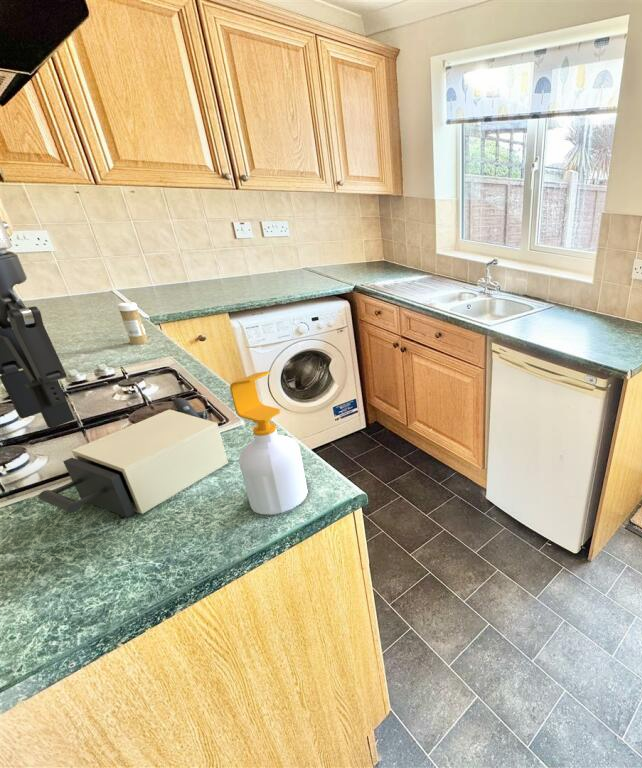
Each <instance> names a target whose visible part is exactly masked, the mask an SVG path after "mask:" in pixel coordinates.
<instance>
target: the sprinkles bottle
mask: <svg viewBox="0 0 642 768" xmlns="http://www.w3.org/2000/svg"><path fill="white" fill-rule="evenodd" d="M116 305H117V309H118V311H119V313H120V316H121V319H122V323H123V325H124V328H125V331H126V333H127V336H128V339H129V342H130V345H131V346H140V345H147V344H149V340H148V337H147V334H146V329H145V327H144V325H143V322H142V320H141V316H140V313H139V309H138V305H137V303H136V302H132V301H128V302H120V303H118V304H116Z"/></svg>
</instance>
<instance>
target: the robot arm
mask: <svg viewBox="0 0 642 768" xmlns="http://www.w3.org/2000/svg"><path fill="white" fill-rule="evenodd" d="M9 227H10V226H9V223H8V222H6V221H4V220H2V218H1V216H0V382H1V384H2V385H3V387H4V389H5V391H6V393H7V395H8V398H9V400H10V401H11V403H12V406H13V407H14V409H15V411H16V413H17V415H18V417H19V418H20V419H27V418H29V417H32V416H35V415H38V414H41V416H42V418H43V420H44V422H45V425H46V427H47V428H49V429H53V428H56V427H59V426H61V425H64V424H67V423H70V422H73V421H75V420H76V418H75V416H74V413H73V411H72V409H71V406H70V405H69V402H68V400H67V398H66V396H65V393H64V391H63V388H62V387H61V384H60V382H59V380H61V379H62V380H63V379H65V378H66V379H67V376H68V375H67V373H66V370H65V369H64V366H63V363H62V362H61V360H60V357H59V356H58V353H57V350H56V349H55V347H54V345H53V342H52V340H51V338H50V335H49V334H48V332H47V330H46V328H45V325H44V321H43V317H42V313H41V310H40V309H39V307H37V306H28V307H27V306H26V305H25V303H24V302H23V300H22V299H21V298H20V297H19V296H18V295H17V293H16V291H15V290H14V287H15V286H16V285H21V284H23V283H25V282H27V281H26V280H27V275H26V272H25V270H24V268H23V265H22V263H21V261H20V258H19V256H18V254H16V253H14V252H13V251H10V250H9V251H8V249H11V248H12V247H13V243H12V240H11V239H10V237H9V234H8V232H7V229H9Z"/></svg>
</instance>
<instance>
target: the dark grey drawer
mask: <svg viewBox="0 0 642 768" xmlns="http://www.w3.org/2000/svg"><path fill="white" fill-rule="evenodd" d="M87 460H88V459H87ZM62 462H63V464H64V466H65V468H66V471H67V473H68V475H69V477H70V479H71V481H70V482H67V483H66V484H64V485H62V486H61V485H60V487H57V488H55V489H53V490H50V489H45V490H43V491H41V492H39V494H38V500H39V501H42V502H44V503H47V504H49V505H52V506H54V507H56V508H59V509H61V510H64V511H66V512H68V513H70V514H71V513H72V514H73V513H76V512H78V511H79V510H81V508H82V505H84V504H86V503H89V504H92V505H94V506H97V507H100V508H102V509H105V510H107V511H109V512H112V513H114V514H117V515H120V516H122V517H124V518H129V517H131V516H132V515H134V514H135V513H136V511H134V509H133V507H132V504H131V502H133V503H135V502H134V500H133V497H132V495H131V492H130V490H129V487H128V485H127V483H126V480H125V478H124V475H123V473H122V472H121V471H119V470H116V469H113V468H110V467H107V466H105V465H102V464H99V463H96V462H94V461H91V460H88V463H89V464H88V463H86V462H83V461H80V460H77V459H75V457H70V458H68V459H67V458H66V459H65V460H63V461H62ZM73 487H75V490H76V491H77V494H78V496H79V498H80V499H78V500H75V499H72V498H70V497H67V496H65V495H63V494H60V493H62V492H65V491H67V490H69V489H71V488H73ZM130 501H131V502H130Z"/></svg>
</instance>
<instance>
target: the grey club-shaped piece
mask: <svg viewBox="0 0 642 768" xmlns="http://www.w3.org/2000/svg"><path fill="white" fill-rule="evenodd" d="M173 405H174V407H175V408H176V409H177V412H181V413H184V414H187V415H191V416H194V417H198V418H201V419H205V420H208V417H209V415H210V414H209V413H208V411H207V410H202V411H196V410H195V409H194V407H193V406H192V404H191V403H190V402H189V401H188V400H187V399H186V398H184V397H177V398H175V399H174V400H173Z"/></svg>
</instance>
